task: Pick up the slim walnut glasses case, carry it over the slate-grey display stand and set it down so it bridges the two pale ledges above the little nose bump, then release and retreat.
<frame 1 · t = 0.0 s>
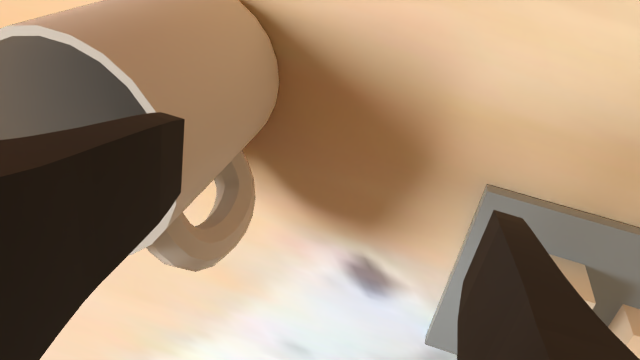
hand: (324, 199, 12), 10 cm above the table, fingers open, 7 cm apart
cup: (221, 95, 23), on the table
stand: (635, 323, 23), on the table
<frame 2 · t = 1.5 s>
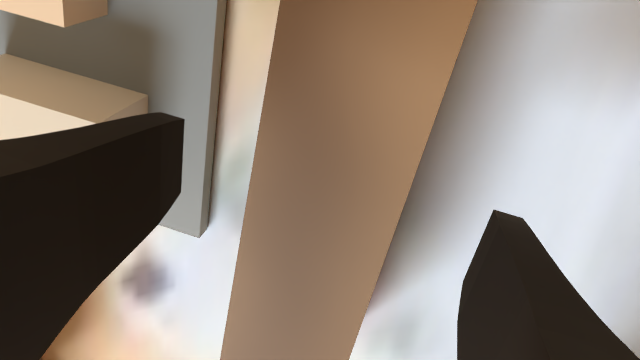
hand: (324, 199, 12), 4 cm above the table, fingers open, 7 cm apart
case: (362, 134, 15), on the table
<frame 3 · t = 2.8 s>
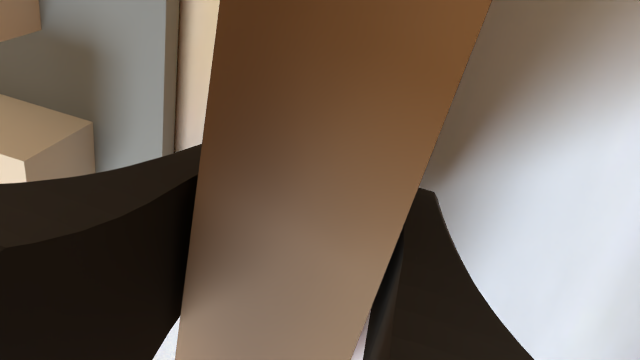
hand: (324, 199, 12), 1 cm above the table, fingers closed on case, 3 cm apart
case: (339, 169, 13), on the table, touching gripper
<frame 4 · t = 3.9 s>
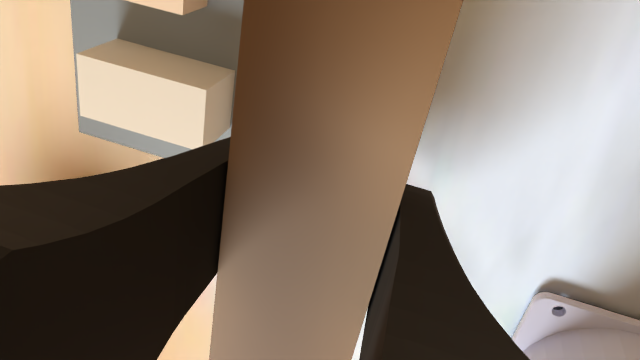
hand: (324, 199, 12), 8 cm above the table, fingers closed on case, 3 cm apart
case: (354, 141, 14), point 5 cm above the table, touching gripper
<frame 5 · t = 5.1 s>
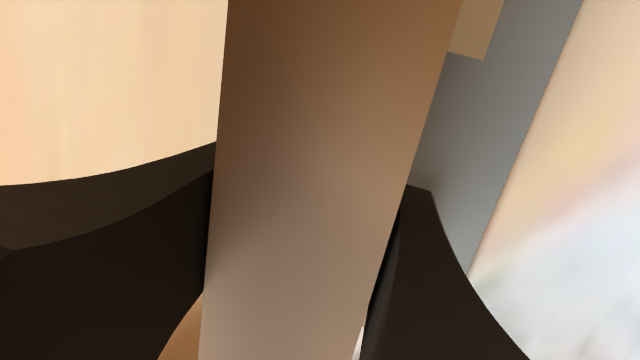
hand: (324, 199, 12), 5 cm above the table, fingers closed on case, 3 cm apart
stand: (368, 116, 16), on the table
case: (347, 154, 14), point 3 cm above the table, touching gripper, stand
when the fingers open (5 cm above the table, at t = 5.7 s): case stays where it is, resting on stand.
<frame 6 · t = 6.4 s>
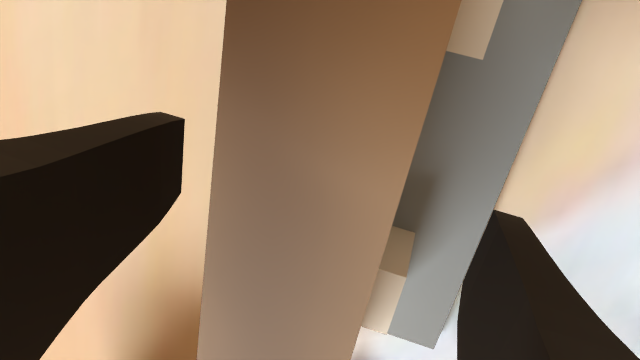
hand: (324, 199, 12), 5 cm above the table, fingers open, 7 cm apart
stand: (368, 115, 16), on the table
case: (346, 154, 14), point 3 cm above the table, touching stand
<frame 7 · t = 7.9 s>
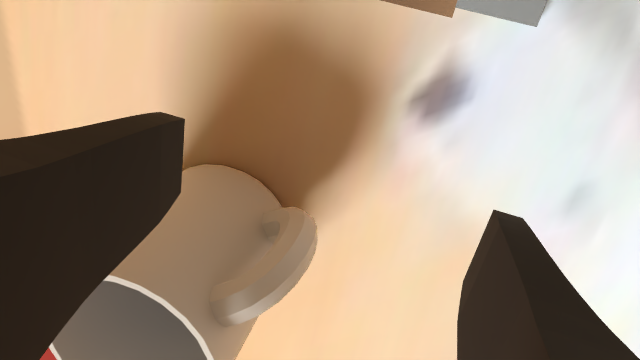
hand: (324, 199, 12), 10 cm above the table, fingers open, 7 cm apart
cup: (251, 214, 26), on the table
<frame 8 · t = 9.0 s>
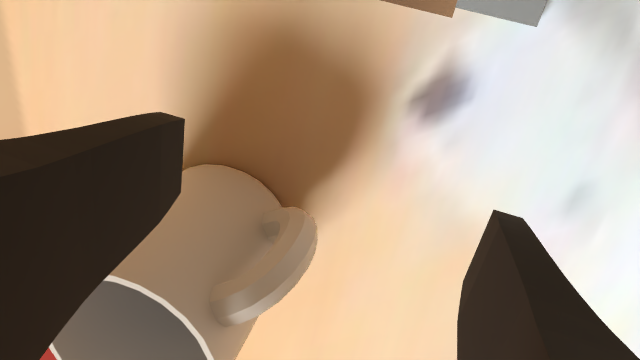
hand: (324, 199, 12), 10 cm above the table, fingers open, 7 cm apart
cup: (251, 214, 26), on the table
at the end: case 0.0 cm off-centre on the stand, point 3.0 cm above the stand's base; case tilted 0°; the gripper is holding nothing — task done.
